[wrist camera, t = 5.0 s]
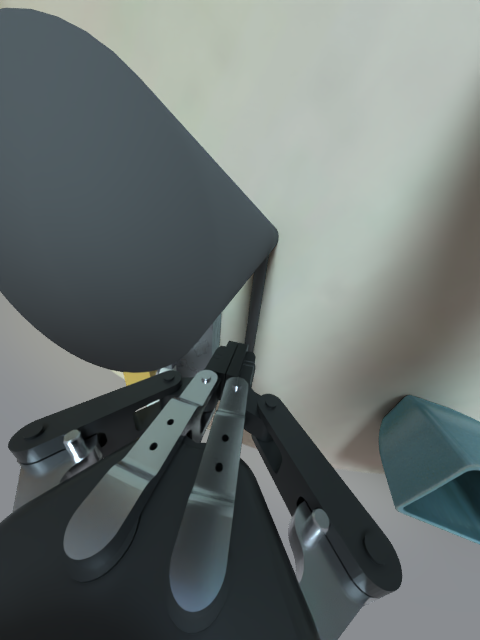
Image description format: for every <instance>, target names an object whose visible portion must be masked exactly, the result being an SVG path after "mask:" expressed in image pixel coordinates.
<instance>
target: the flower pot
mask: <svg viewBox="0 0 480 640" xmlns="http://www.w3.org/2000/svg"><path fill="white" fill-rule="evenodd" d="M379 451H380V456H381V461H382V464H383V468H384V471H385V475H386V478H387V482H388V485H389V488H390V491H391V495H392V498H393V502H394V505H395V509H396V510H397V511H398V512H401V513H403V514H405V515H408V516H410V517H413V518H415V519H418V520H420V521H423V522H425V523H428V524H430V525H433V526H435V527H438V528H440V529H442V530H445V531H447V532H450V533H453V534H455V535H457V536H460V537H462V538H465V539H467V540H470V541H473V542H474V543H478V544H480V422H479V421H477V420H475V419H473V418H471V417H468V416H466V415H464V414H462V413H460V412H457V411H455V410H453V409H450V408H447V407H444V406H441V405H438V404H435V403H432V402H430V401H427V400H424V399H421V398H418V397H415V396H412V395H407V396H405V397H404V398H403V399H402V400H401V401H400V402H399V403H398V404H397V405H396V406H395V408H393V409H392V410H391V411H390V412H389V413H388V414H387V415H386V416H385V417H384V418H383V420H382V424H381V427H380V432H379Z"/></svg>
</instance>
